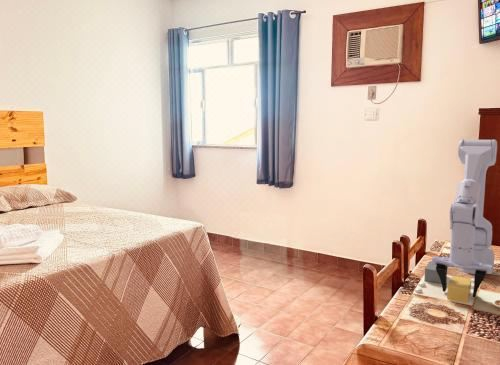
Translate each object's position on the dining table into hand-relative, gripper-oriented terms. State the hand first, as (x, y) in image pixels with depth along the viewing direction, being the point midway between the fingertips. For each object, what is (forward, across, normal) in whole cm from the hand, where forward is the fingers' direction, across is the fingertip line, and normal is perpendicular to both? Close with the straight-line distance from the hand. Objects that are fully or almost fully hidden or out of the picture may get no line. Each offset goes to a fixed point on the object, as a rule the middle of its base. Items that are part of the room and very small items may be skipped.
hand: (459, 293), depth 112 cm
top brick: (+1, 0, 0) cm, 1 cm away
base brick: (+1, -8, +10) cm, 13 cm away
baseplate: (+2, -4, +5) cm, 7 cm away
